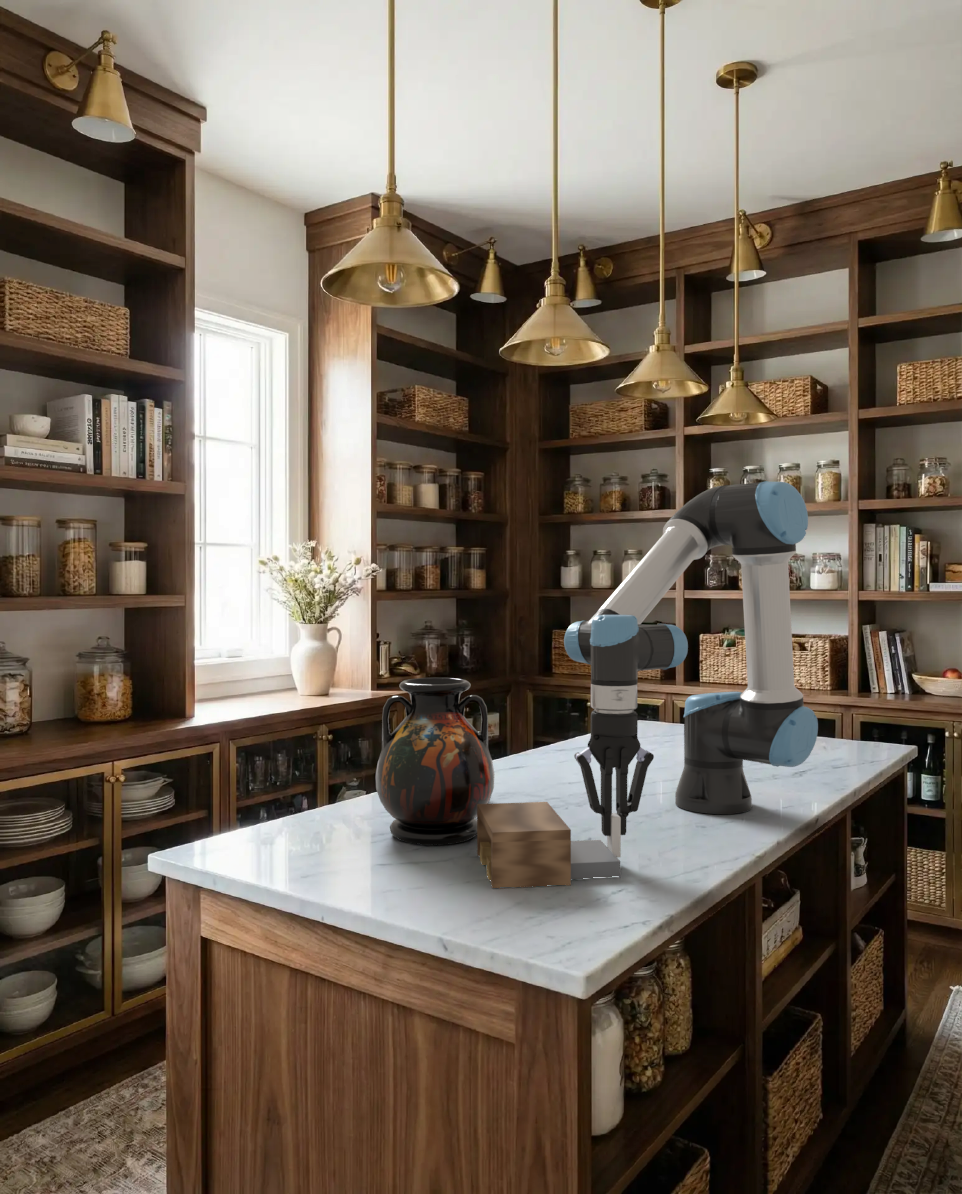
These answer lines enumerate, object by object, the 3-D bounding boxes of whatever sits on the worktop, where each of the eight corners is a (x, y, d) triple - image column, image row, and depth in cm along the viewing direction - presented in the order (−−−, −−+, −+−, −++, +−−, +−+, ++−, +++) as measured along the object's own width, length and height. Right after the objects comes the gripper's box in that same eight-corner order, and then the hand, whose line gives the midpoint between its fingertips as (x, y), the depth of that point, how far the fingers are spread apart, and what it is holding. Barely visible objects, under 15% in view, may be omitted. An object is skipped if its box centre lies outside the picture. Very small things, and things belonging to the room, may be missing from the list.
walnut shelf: (547, 851, 163) (547, 801, 163) (570, 885, 146) (570, 829, 145) (477, 854, 162) (477, 804, 162) (492, 888, 144) (492, 832, 144)
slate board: (600, 857, 161) (600, 839, 161) (620, 880, 149) (620, 861, 149) (506, 861, 159) (506, 843, 159) (519, 885, 147) (519, 865, 147)
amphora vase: (372, 853, 163) (371, 688, 162) (379, 820, 184) (378, 675, 184) (498, 851, 164) (498, 687, 163) (490, 818, 185) (490, 674, 185)
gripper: (580, 714, 150) (580, 863, 151) (660, 712, 152) (659, 860, 153) (569, 707, 158) (569, 850, 158) (645, 706, 160) (645, 846, 160)
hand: (613, 854), depth 156 cm, fingers closed
